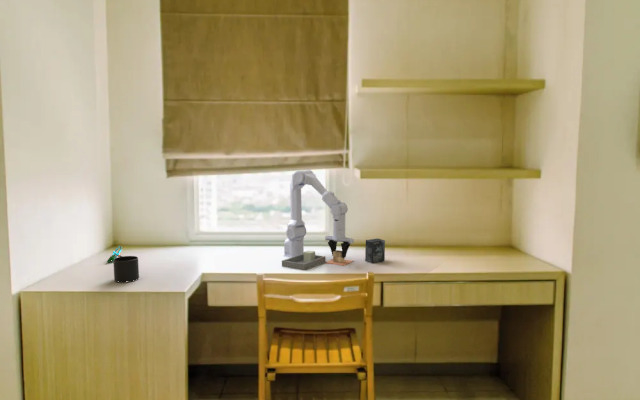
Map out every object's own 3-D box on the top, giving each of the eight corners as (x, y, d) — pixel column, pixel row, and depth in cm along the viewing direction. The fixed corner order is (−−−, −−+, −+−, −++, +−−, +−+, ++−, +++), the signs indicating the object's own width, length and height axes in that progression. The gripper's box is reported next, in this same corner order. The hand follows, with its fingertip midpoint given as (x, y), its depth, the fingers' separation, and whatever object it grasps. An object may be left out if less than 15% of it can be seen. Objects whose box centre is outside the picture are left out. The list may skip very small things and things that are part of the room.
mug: (141, 274, 198) (140, 254, 197) (137, 282, 187) (136, 260, 186) (118, 275, 196) (117, 255, 195) (112, 283, 184) (111, 261, 183)
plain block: (303, 262, 217) (303, 252, 217) (308, 260, 221) (308, 250, 220) (310, 263, 215) (310, 253, 215) (315, 261, 219) (315, 251, 218)
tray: (281, 267, 210) (281, 260, 210) (303, 259, 225) (303, 253, 225) (304, 270, 203) (304, 264, 203) (325, 262, 218) (325, 256, 218)
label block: (333, 262, 217) (333, 251, 216) (337, 260, 220) (337, 249, 220) (340, 263, 215) (340, 252, 214) (344, 261, 218) (344, 250, 217)
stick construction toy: (113, 253, 229) (120, 242, 226) (126, 260, 230) (132, 249, 227) (101, 265, 218) (108, 254, 215) (114, 273, 219) (121, 262, 216)
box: (372, 263, 216) (372, 241, 215) (364, 261, 221) (365, 239, 220) (385, 261, 221) (385, 239, 219) (377, 259, 225) (377, 238, 224)
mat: (324, 263, 216) (324, 262, 216) (335, 259, 225) (335, 258, 225) (342, 266, 211) (342, 265, 211) (353, 262, 219) (353, 260, 219)
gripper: (321, 228, 217) (321, 256, 218) (348, 231, 209) (348, 260, 210) (329, 226, 222) (329, 253, 224) (355, 228, 215) (355, 257, 216)
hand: (339, 256), depth 217 cm, fingers open, 5 cm apart
